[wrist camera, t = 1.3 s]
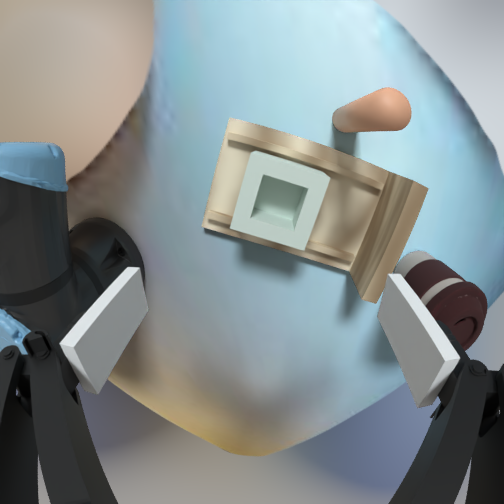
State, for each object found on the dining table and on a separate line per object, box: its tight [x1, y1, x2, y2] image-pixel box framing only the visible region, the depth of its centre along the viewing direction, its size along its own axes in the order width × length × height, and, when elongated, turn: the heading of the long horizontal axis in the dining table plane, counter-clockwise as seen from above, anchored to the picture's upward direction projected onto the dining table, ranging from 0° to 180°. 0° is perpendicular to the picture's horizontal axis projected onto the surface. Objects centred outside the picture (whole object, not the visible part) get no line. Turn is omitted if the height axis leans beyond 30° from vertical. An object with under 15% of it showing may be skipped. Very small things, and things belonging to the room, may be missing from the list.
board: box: [202, 118, 428, 303], centre depth 30 cm, size 22×14×8 cm, turn 74°
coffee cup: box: [394, 251, 487, 351], centre depth 29 cm, size 10×10×15 cm
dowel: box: [332, 88, 411, 133], centre depth 22 cm, size 3×3×15 cm
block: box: [230, 151, 330, 251], centre depth 30 cm, size 8×8×6 cm
